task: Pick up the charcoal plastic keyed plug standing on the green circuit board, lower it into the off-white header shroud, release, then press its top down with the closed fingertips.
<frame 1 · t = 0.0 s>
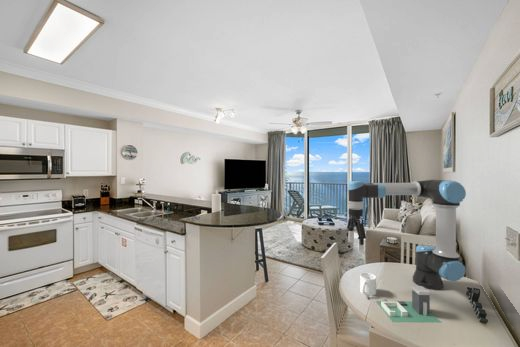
hand: (355, 246, 125), 28 cm above the table, fingers open, 13 cm apart
mug: (366, 295, 125), on the table
board: (406, 313, 109), on the table
header: (393, 313, 109), resting on board
plug: (420, 311, 109), point 1 cm above the table, touching board
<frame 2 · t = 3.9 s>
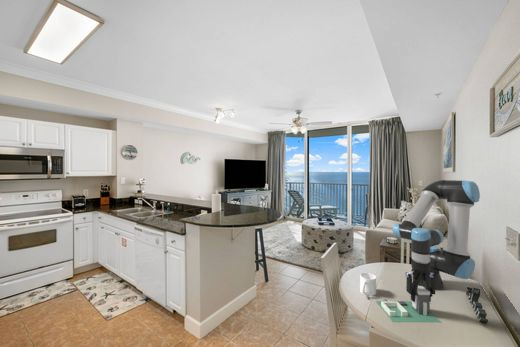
hand: (420, 307, 109), 3 cm above the table, fingers closed on plug, 5 cm apart
plug: (420, 311, 109), point 1 cm above the table, touching board, gripper
everything else where it was.
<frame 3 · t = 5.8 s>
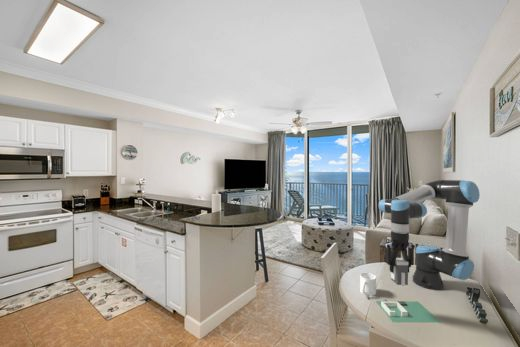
hand: (399, 278, 108), 17 cm above the table, fingers closed on plug, 5 cm apart
plug: (399, 282, 108), point 16 cm above the table, touching gripper
everything else where it was.
when the fingers open (5 cm above the table, at t = 8.1 s): plug drops 2 cm, resting on board.
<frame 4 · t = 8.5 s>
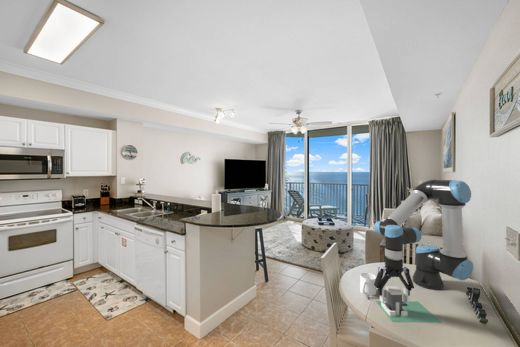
hand: (393, 301, 109), 6 cm above the table, fingers open, 11 cm apart
plug: (394, 310, 109), point 1 cm above the table, touching board
everything else where it was.
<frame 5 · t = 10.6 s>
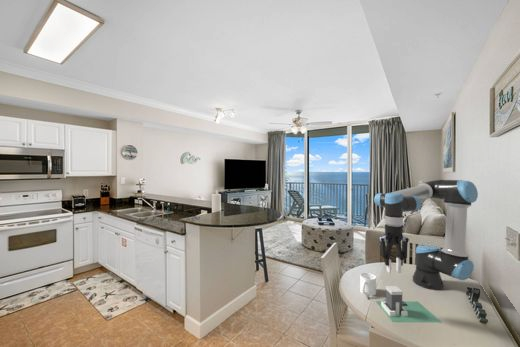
hand: (393, 271, 109), 21 cm above the table, fingers open, 4 cm apart
nothing on the table moved.
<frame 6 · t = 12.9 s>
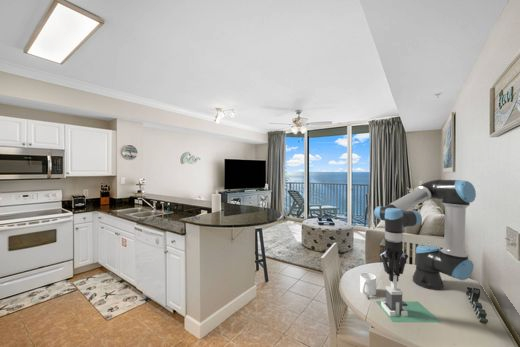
hand: (393, 287, 109), 13 cm above the table, fingers closed
nothing on the table moved.
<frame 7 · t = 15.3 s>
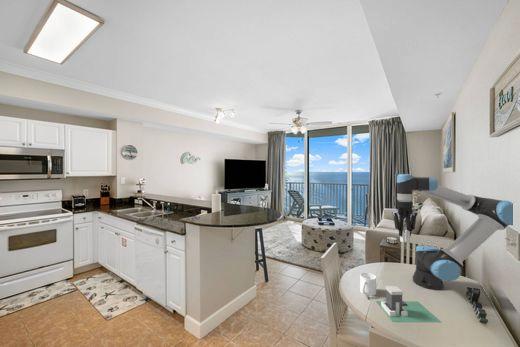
hand: (404, 241, 127), 29 cm above the table, fingers open, 2 cm apart
nothing on the table moved.
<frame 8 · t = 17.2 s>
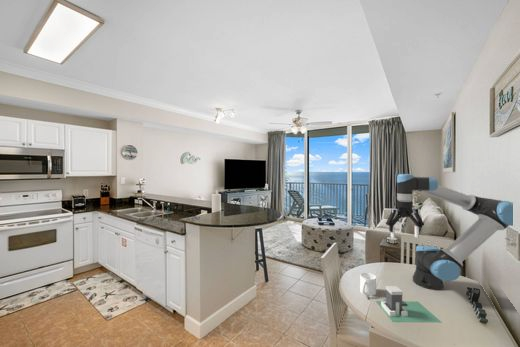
hand: (404, 237, 127), 32 cm above the table, fingers open, 13 cm apart
nothing on the table moved.
at the end: plug 0.1 cm off-centre on the header, point 1.2 cm above the header's base; plug tilted 0°; the gripper is holding nothing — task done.
